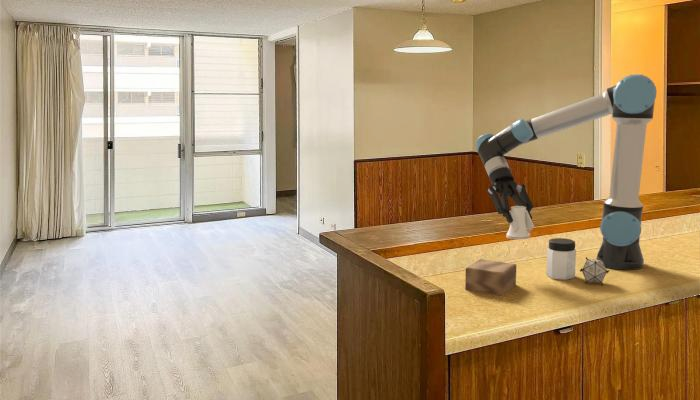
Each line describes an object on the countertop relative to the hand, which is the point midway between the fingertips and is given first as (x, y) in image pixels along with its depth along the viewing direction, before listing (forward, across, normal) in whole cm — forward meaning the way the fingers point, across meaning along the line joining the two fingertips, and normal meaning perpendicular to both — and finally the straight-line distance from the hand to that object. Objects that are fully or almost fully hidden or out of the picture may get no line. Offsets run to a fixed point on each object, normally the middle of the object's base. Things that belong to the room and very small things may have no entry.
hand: (524, 229), depth 191 cm
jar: (+13, -13, -11) cm, 21 cm away
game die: (+20, -19, -4) cm, 27 cm away
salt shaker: (0, 0, -5) cm, 5 cm away
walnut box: (+15, +14, -9) cm, 22 cm away
